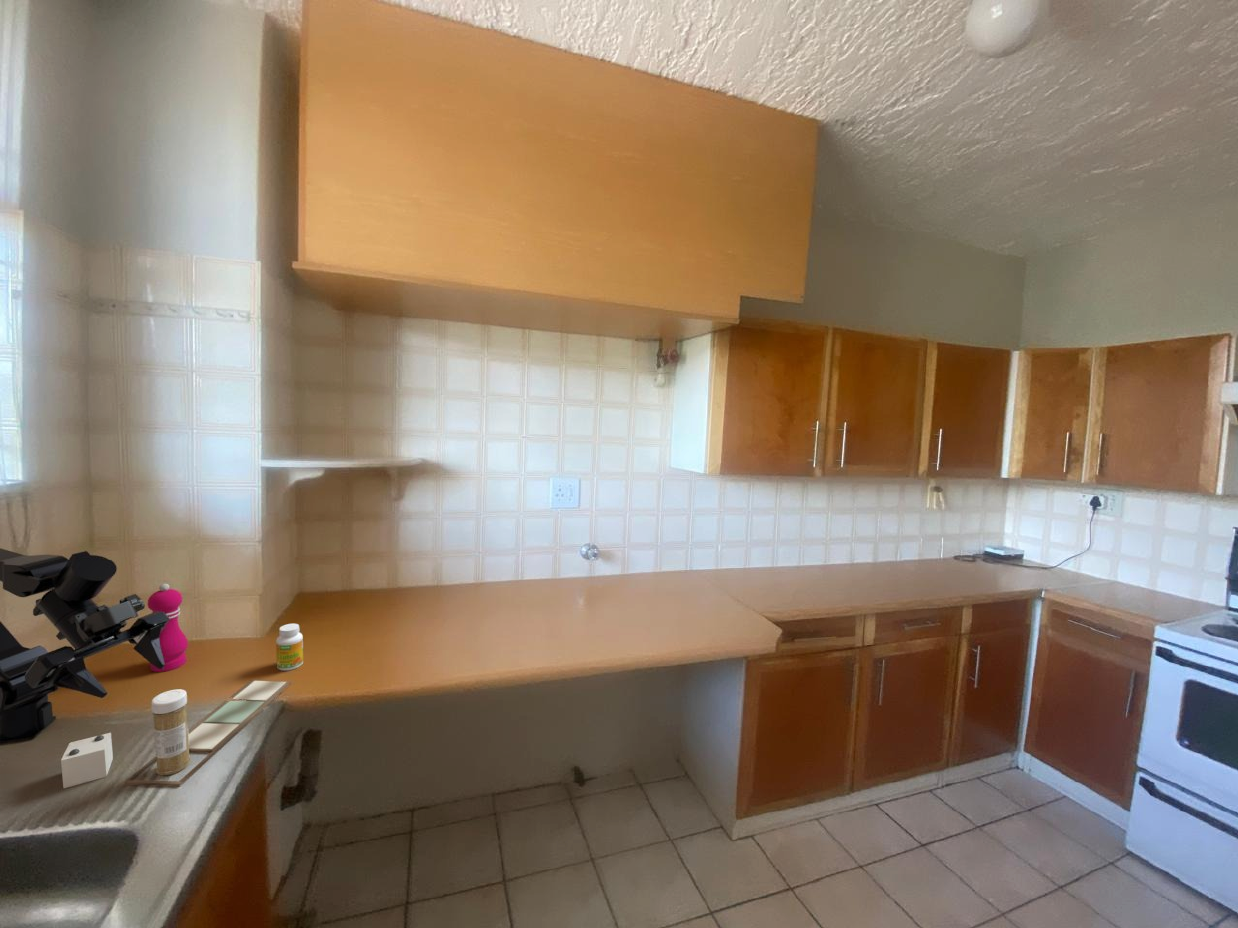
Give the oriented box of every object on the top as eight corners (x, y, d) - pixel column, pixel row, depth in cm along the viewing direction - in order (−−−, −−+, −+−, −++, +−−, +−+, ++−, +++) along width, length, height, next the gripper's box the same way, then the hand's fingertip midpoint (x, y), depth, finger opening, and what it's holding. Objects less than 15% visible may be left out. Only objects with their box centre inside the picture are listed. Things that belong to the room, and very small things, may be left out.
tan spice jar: (193, 754, 91) (189, 685, 89) (187, 771, 87) (183, 699, 86) (159, 762, 89) (155, 691, 87) (152, 780, 85) (147, 706, 83)
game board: (123, 784, 84) (123, 781, 84) (250, 682, 114) (250, 679, 114) (179, 786, 84) (179, 783, 84) (291, 683, 114) (291, 681, 114)
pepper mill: (155, 676, 114) (150, 592, 111) (142, 666, 117) (137, 584, 115) (194, 663, 120) (190, 582, 118) (180, 654, 124) (176, 575, 121)
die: (63, 788, 82) (60, 756, 82) (72, 769, 86) (69, 739, 86) (106, 776, 85) (104, 745, 84) (112, 758, 89) (110, 729, 88)
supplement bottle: (277, 673, 118) (276, 634, 117) (276, 662, 122) (275, 625, 121) (304, 667, 121) (303, 629, 120) (302, 657, 125) (301, 620, 124)
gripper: (29, 608, 78) (95, 682, 78) (157, 569, 96) (211, 629, 96) (-4, 651, 80) (60, 724, 80) (127, 605, 99) (180, 664, 98)
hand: (135, 680), depth 88 cm, fingers open, 9 cm apart
